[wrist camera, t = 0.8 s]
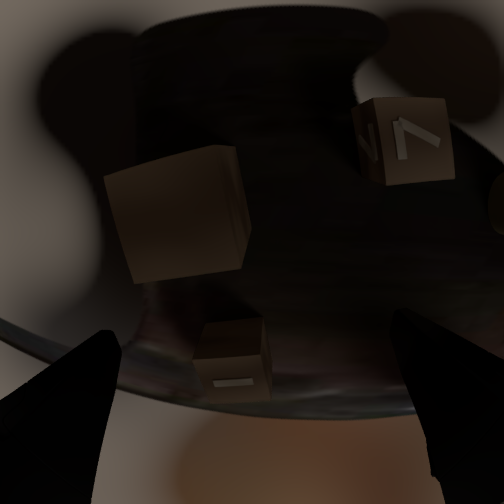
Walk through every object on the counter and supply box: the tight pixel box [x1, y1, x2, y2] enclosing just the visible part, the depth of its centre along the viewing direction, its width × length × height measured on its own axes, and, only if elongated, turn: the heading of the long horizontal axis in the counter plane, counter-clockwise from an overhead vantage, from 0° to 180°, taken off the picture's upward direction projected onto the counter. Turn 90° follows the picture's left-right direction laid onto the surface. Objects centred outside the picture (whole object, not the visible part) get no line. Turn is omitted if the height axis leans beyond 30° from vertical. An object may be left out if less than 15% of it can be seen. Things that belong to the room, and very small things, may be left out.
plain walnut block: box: [104, 145, 252, 284], centre depth 17 cm, size 6×6×8 cm
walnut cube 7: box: [351, 97, 455, 186], centre depth 16 cm, size 5×5×5 cm
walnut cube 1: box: [192, 317, 272, 404], centre depth 22 cm, size 5×5×5 cm
